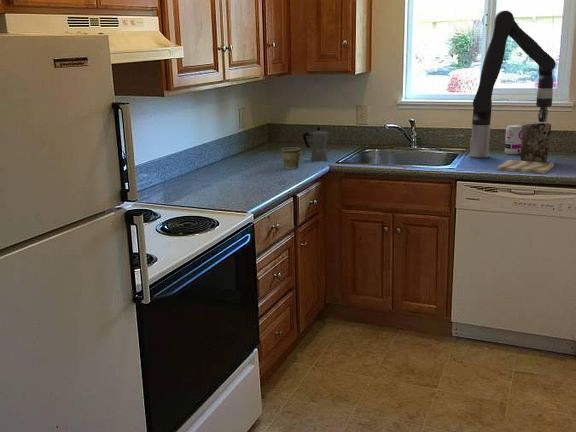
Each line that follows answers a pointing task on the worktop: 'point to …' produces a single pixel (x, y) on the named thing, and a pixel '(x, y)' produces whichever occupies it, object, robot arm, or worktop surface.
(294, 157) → the ceramic cup
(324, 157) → the coffeepot
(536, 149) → the stone block
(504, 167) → the cutting board
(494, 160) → the worktop surface
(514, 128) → the supplement can
